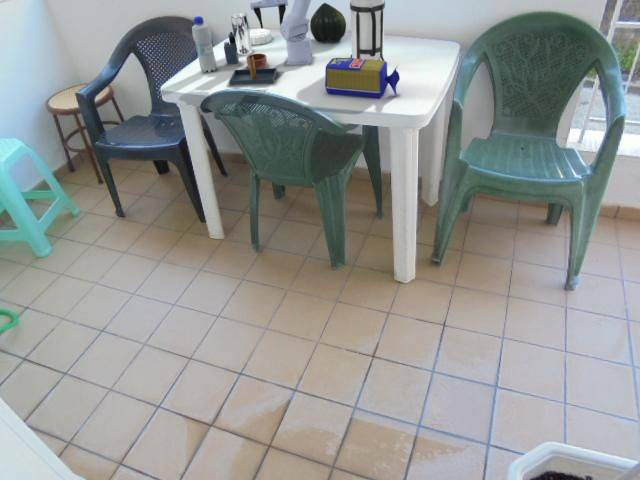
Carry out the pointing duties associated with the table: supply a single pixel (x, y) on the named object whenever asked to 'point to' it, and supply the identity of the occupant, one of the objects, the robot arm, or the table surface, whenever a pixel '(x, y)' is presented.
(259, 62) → the pen cup
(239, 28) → the beer glass
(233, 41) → the vaping device
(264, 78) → the tray
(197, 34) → the bottle
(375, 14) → the coffee press
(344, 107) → the table surface
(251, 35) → the mooncake
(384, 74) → the bread
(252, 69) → the marker
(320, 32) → the squash
